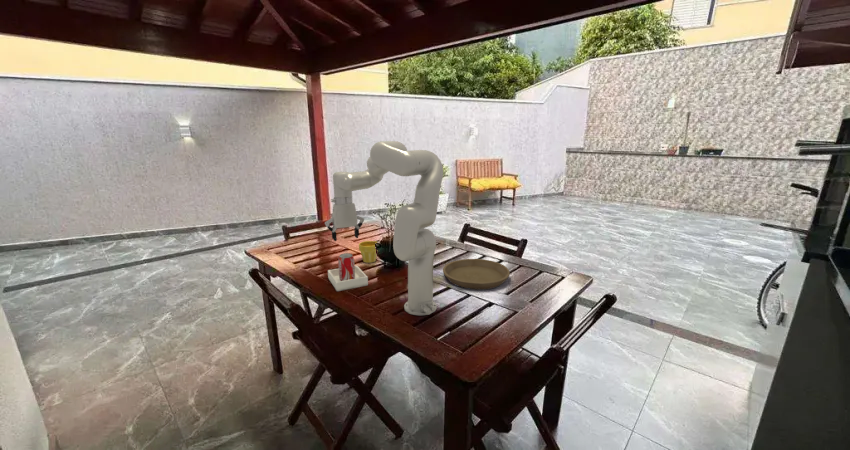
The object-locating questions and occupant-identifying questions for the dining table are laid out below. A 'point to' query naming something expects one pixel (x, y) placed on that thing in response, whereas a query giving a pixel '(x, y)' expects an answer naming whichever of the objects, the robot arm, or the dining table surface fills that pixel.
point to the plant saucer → (476, 273)
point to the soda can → (346, 267)
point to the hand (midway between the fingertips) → (345, 238)
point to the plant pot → (368, 251)
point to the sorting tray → (347, 284)
